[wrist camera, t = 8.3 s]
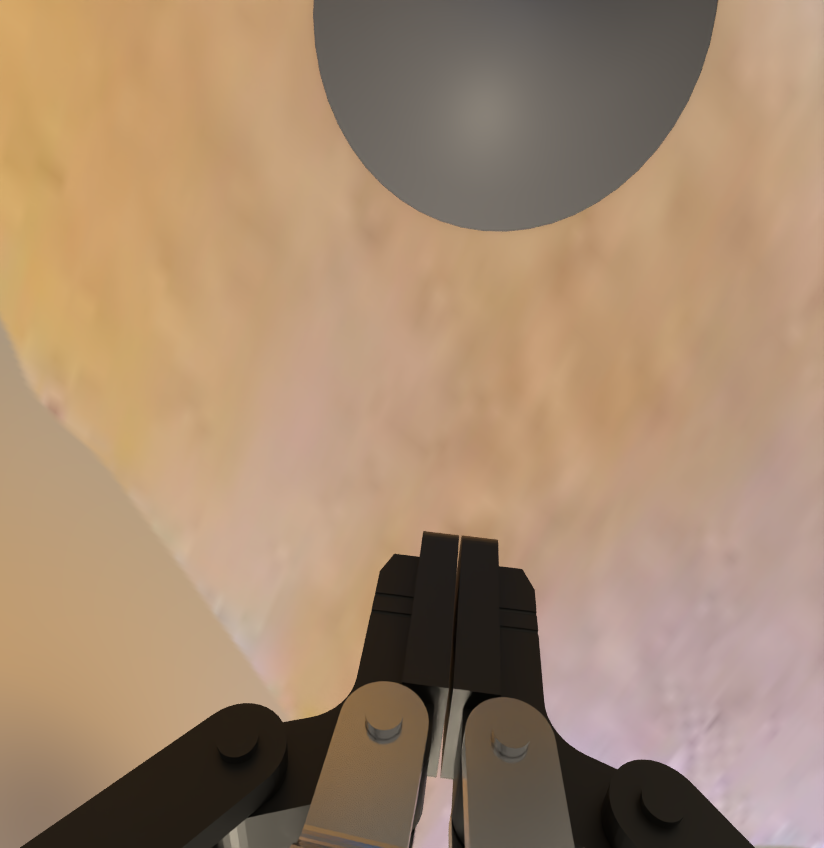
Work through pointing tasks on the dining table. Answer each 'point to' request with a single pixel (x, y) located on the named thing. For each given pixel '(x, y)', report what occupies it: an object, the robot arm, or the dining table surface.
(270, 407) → the dining table surface
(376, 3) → the disc
